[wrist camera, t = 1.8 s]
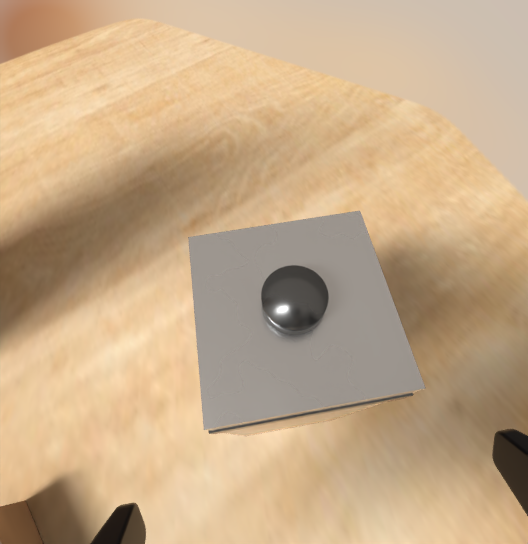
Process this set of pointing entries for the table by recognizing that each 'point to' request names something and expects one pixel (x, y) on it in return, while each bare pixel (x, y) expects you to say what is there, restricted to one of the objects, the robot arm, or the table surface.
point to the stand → (18, 525)
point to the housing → (295, 326)
